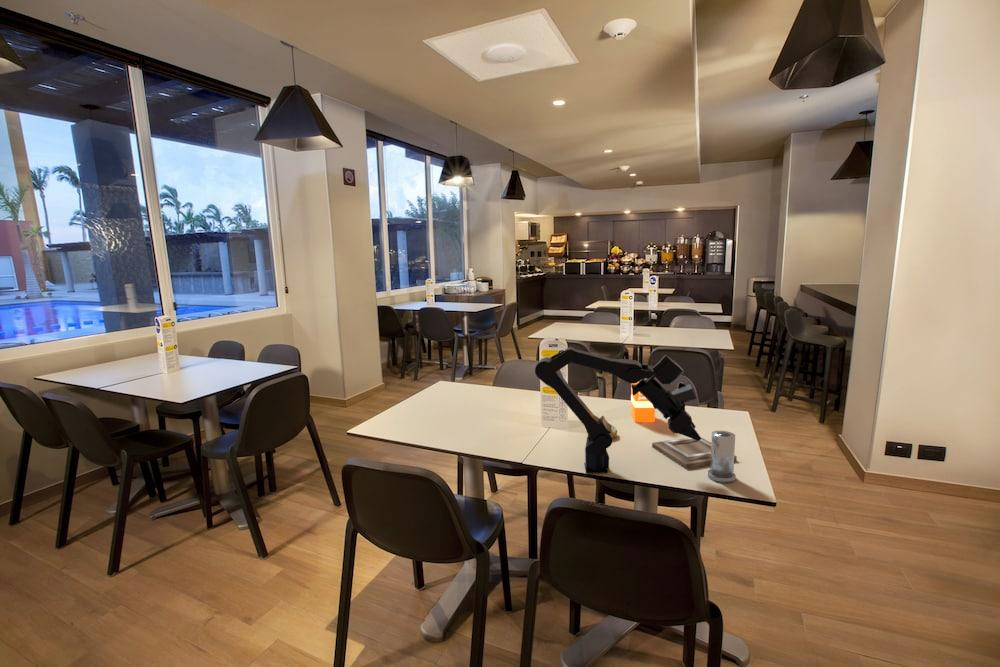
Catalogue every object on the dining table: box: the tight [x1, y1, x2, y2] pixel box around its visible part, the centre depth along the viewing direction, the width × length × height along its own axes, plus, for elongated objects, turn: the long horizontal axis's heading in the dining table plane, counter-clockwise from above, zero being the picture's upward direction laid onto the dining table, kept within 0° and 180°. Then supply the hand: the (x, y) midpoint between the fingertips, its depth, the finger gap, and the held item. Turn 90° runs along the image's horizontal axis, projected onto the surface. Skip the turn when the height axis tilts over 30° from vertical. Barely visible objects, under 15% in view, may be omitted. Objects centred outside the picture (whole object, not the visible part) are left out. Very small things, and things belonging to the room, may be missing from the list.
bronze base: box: [651, 437, 738, 470], centre depth 154 cm, size 18×18×2 cm
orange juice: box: [630, 379, 656, 423], centre depth 187 cm, size 8×9×20 cm
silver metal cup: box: [707, 430, 737, 484], centre depth 136 cm, size 7×7×13 cm
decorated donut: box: [611, 424, 618, 440], centre depth 172 cm, size 10×11×4 cm
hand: (697, 433), depth 136 cm, fingers open, 9 cm apart
